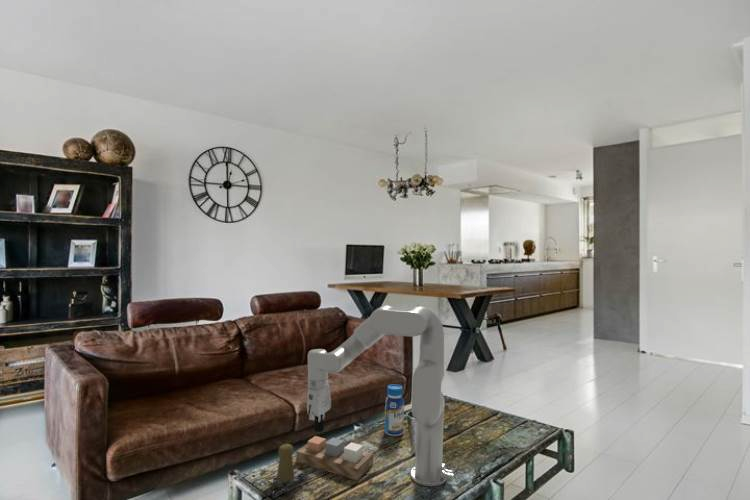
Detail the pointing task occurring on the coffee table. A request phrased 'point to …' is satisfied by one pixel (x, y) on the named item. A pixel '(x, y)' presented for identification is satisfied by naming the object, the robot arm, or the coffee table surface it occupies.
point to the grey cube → (334, 447)
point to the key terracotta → (316, 444)
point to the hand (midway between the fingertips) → (318, 430)
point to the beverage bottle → (394, 410)
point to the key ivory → (353, 452)
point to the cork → (285, 463)
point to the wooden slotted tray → (334, 462)
